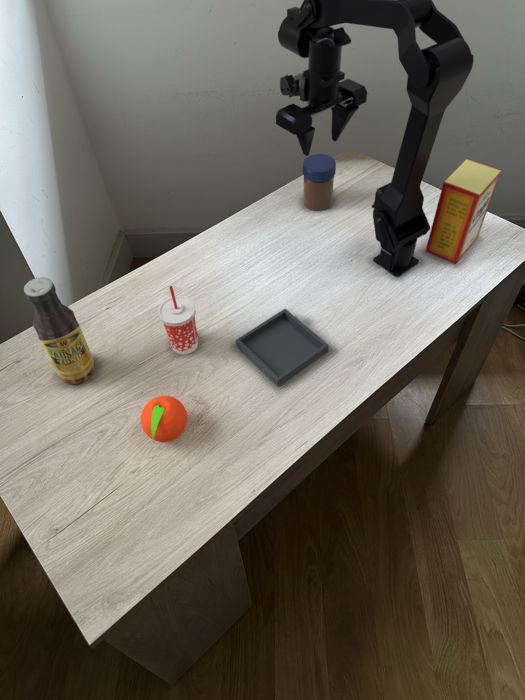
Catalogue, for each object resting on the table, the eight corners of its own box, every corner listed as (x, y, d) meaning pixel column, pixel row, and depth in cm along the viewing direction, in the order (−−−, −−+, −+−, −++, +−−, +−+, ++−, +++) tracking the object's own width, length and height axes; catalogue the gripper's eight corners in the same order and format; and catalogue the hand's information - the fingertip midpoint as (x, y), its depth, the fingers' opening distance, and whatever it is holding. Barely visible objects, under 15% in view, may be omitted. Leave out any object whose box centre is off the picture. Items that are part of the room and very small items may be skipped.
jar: (318, 189, 117) (320, 153, 110) (338, 202, 114) (341, 165, 107) (297, 201, 115) (297, 164, 108) (316, 214, 112) (318, 177, 105)
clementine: (182, 459, 77) (173, 436, 71) (137, 453, 78) (126, 429, 72) (195, 414, 82) (188, 388, 76) (153, 408, 83) (144, 383, 77)
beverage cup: (179, 326, 93) (164, 268, 82) (209, 337, 92) (198, 279, 81) (161, 351, 90) (143, 294, 79) (191, 362, 88) (177, 306, 77)
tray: (285, 315, 94) (285, 308, 93) (328, 351, 88) (328, 344, 87) (236, 346, 90) (235, 339, 89) (277, 387, 84) (277, 380, 83)
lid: (319, 160, 112) (320, 150, 110) (342, 173, 109) (342, 163, 107) (296, 172, 110) (296, 162, 108) (318, 186, 106) (318, 176, 104)
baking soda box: (447, 226, 108) (468, 156, 95) (477, 239, 105) (502, 168, 92) (425, 251, 103) (443, 180, 91) (455, 264, 100) (479, 193, 88)
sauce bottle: (64, 392, 86) (15, 310, 70) (56, 365, 89) (6, 282, 74) (103, 376, 87) (62, 293, 72) (93, 351, 91) (52, 266, 75)
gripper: (330, 37, 100) (326, 116, 112) (255, 68, 93) (259, 149, 105) (373, 55, 94) (364, 136, 106) (296, 89, 87) (295, 172, 100)
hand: (320, 147), depth 104 cm, fingers open, 7 cm apart
